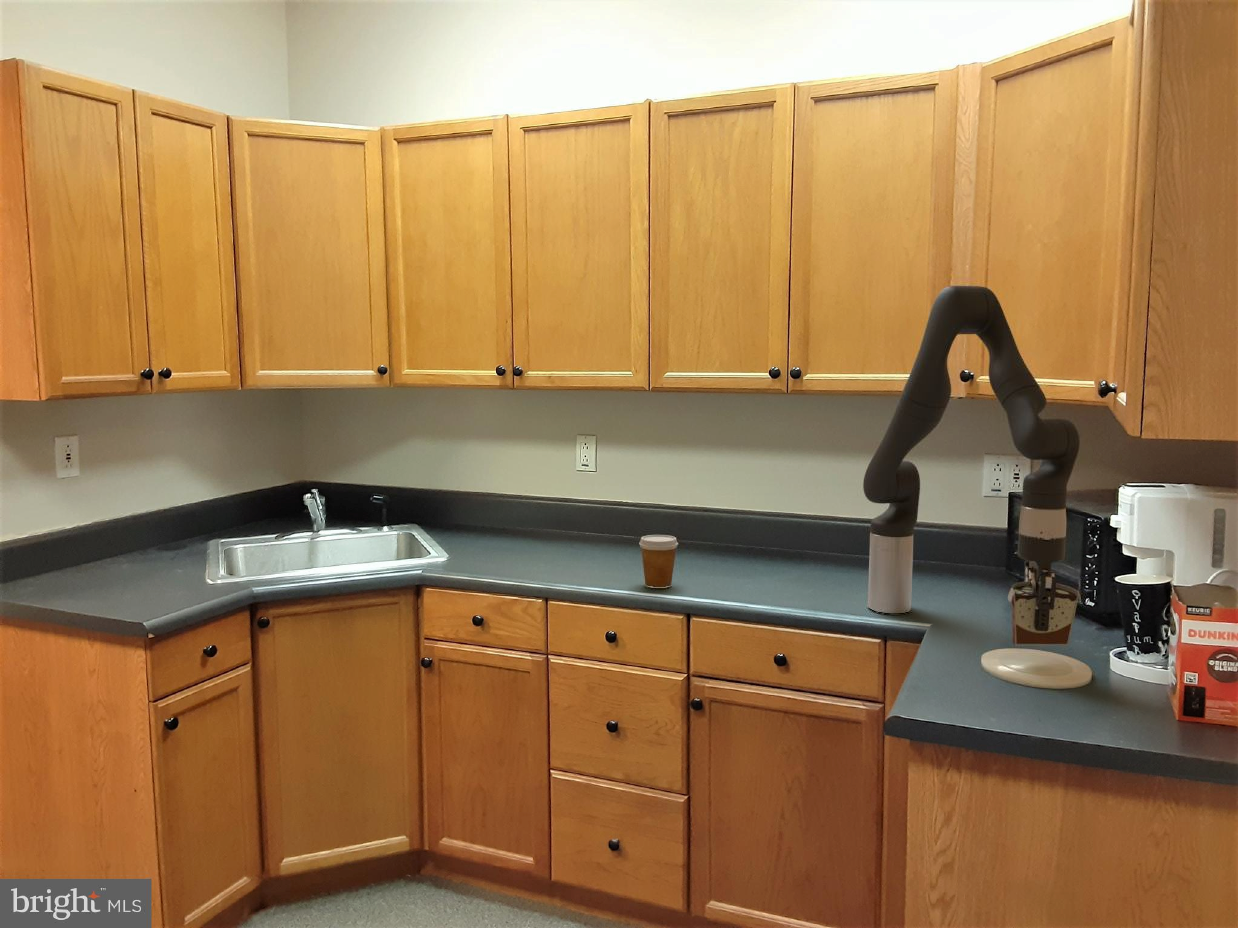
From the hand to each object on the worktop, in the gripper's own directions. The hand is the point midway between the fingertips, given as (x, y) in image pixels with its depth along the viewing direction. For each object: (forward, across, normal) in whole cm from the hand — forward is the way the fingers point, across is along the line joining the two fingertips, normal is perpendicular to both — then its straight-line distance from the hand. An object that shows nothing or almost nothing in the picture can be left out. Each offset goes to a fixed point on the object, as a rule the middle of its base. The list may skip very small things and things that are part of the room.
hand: (1037, 625), depth 162 cm
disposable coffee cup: (+9, -45, -77) cm, 90 cm away
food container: (+3, -1, 0) cm, 3 cm away
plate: (+8, 0, 0) cm, 8 cm away
